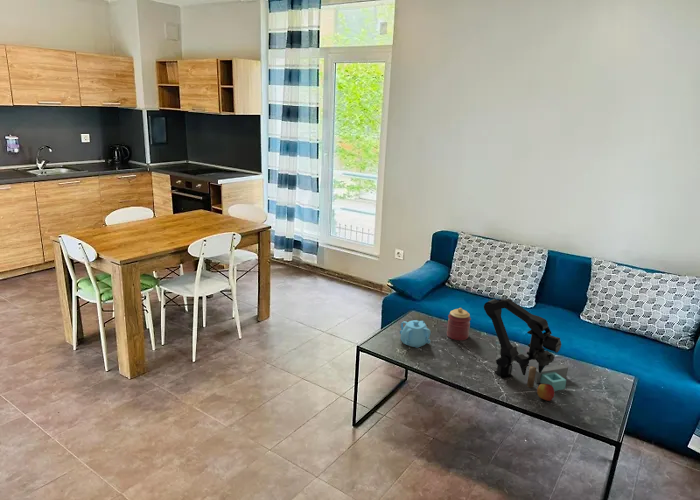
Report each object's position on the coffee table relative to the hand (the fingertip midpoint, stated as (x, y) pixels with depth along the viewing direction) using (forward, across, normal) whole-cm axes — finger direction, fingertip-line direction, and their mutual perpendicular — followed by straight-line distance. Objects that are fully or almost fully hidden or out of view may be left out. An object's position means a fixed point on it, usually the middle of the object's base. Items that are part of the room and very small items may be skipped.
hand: (531, 373), depth 237 cm
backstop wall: (+7, +14, +3) cm, 16 cm away
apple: (+7, -1, -12) cm, 14 cm away
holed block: (+7, +11, -3) cm, 13 cm away
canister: (+7, -6, +58) cm, 59 cm away
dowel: (+7, 0, 0) cm, 7 cm away
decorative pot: (+7, -35, +56) cm, 66 cm away
